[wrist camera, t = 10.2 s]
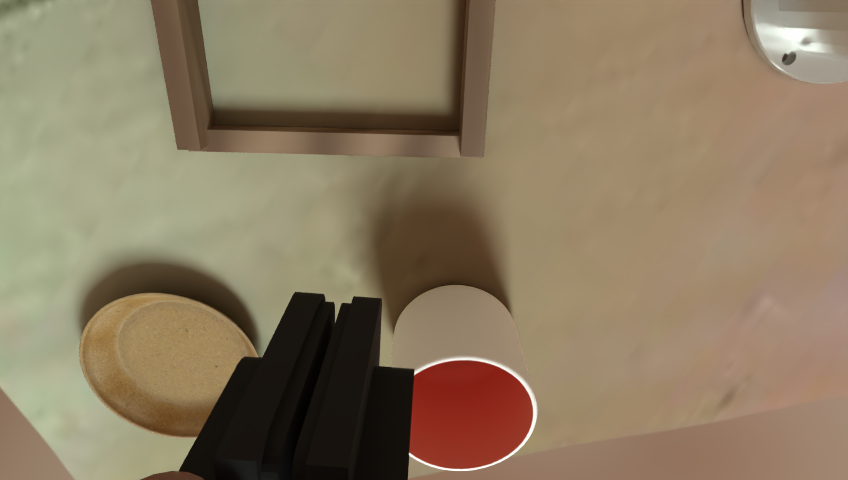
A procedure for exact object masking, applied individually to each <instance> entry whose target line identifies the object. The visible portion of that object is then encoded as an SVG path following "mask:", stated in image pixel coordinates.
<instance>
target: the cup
mask: <svg viewBox="0 0 848 480" xmlns="http://www.w3.org/2000/svg"><path fill="white" fill-rule="evenodd" d="M391 367H396V368H409V369H414V386H413V402H412V418H411V434H410V449H409V456H411V457H412V458H414V459H416V460H417V461H419V462H421V463H423V464H426V465H429V466H431V467H435V468H439V469H444V470H453V471H466V470H467V471H468V470H476V469H481V468H485V467H488V466H491V465H494V464H496V463H499V462H501V461H503V460H505V459H507V458H508V457H510V456H511V455H513V454H514V453H515V452H517V451H518V450H519V449H520V448H521V447H522V446H523V445H524V444H525V442H526V441H527V440H528V438H529V437H530V435H531V433H532V431H533V429H534V427H535V423H536V419H537V402H536V398H535V394H534V391H533V387H532V384H531V380H530V377H529V373H528V370H527V366H526V362H525V359H524V355H523V352H522V348H521V345H520V341H519V338H518V334H517V330H516V327H515V324H514V321H513V319H512V317H511V315H510V313H509V311H508V310H507V309H506V307H505V306H504V305H503V304H502V303H501V302H500V301H499V300H498V299H496V298H495V297H494V296H492V295H491V294H489V293H487V292H485V291H483V290H481V289H478V288H474V287H470V286H465V285H448V286H442V287H437V288H434V289H431V290H429V291H427V292H425V293H423V294H421V295H419V296H418V297H416V298H415V299H414V300H412V301H411V302H410V303H409V304H408V305H407V306H406V308H405V309H404V310H403V311H402V313H401V315H400V316H399V318H398V321H397V323H396V326H395V330H394V336H393V347H392V358H391Z"/></svg>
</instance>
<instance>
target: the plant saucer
mask: <svg viewBox="0 0 848 480" xmlns="http://www.w3.org/2000/svg"><path fill="white" fill-rule="evenodd" d="M245 356H248V357H259V356H258V354H257V352H256V350H255V348H254V346H253V344H252V343H251V341H250V340H249V338H248V337H247V335H246V334H245V333H244V332H243V331H242V329H241V328H240V327H239V326H238V325H237V324H236V323H235V322H234V321H232V320H231V319H230V318H229V317H227V316H226V315H225V314H223V313H222V312H220V311H219V310H217V309H215V308H213V307H211V306H209V305H207V304H205V303H203V302H200V301H198V300H195V299H192V298H188V297H184V296H180V295H174V294H166V293H140V294H134V295H130V296H126V297H122V298H120V299H117V300H115V301H113V302H111V303H109V304H107V305H105V306H104V307H103V308H101V309H100V310H99V311H98V312H96V314H95V315H94V316H93V317H92V318H91V319H90V320H89V322H88V323H87V325H86V326H85V328H84V330H83V333H82V336H81V340H80V347H79V357H80V364H81V367H82V371H83V374H84V376H85V379H86V381H87V383H88V384H89V386H90V388H91V389H92V391H93V392H94V393H95V395H96V396H97V397H98V398H99V399H100V401H101V402H102V403H103V404H104V405H105V406H106V407H107V408H109V409H110V410H111V411H112V412H113V413H115V414H116V415H117V416H119V417H120V418H122V419H123V420H125V421H127V422H129V423H131V424H132V425H134V426H136V427H139V428H140V429H143V430H145V431H148V432H151V433H154V434H158V435H162V436H167V437H172V438H180V439H193V438H197V437H198V435H199V433H200V431H201V430H202V428H203V426H204V424H205V422H206V420H207V419H208V417H209V415H210V413H211V411H212V410H213V408H214V406H215V404H216V402H217V401H218V399H219V397H220V395H221V393H222V391H223V390H224V388H225V386H226V384H227V382H228V381H229V379H230V377H231V375H232V373H233V371H234V370H235V368H236V366H237V364H238V363H239V361H240V360H241V359H242V358H243V357H245Z"/></svg>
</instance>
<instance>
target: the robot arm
mask: <svg viewBox="0 0 848 480" xmlns="http://www.w3.org/2000/svg"><path fill="white" fill-rule="evenodd" d="M743 3H744V20H745V24H746V28H747V32H748V36H749V39H750V40H751V42H752V44H753V46H754V48H755V50H756V52H757V53H758V55H759V56H760V57H761V58H762V59H763V60H764V61H765V63H766V64H767V65H768V66H770V67H771V68H773V69H774V70H776V71H777V72H779V73H780V74H782V75H785V76H787V77H790V78H793V79H795V80H800V81H805V82H810V83H824V84H833V83H839V82H845V81H848V0H743ZM783 55H784V56H783ZM782 57H783V58H782ZM381 313H382V299H381V298H368V297H355V296H354V297H353V299H352V303H351V304H350V303H342V304H341V307H340V310H339V313H338V316H337V320H336V323H335V304H334V302H325V296H324V294H315V293H302V292H295V293H294V294H293V296H292V298H291V300H290V302H289V304H288V306H287V308H286V310H285V312H284V314H283V316H282V318H281V320H280V323H279V325H278V327H277V329H276V331H275V333H274V335H273V337H272V339H271V341H270V343H269V345H268V347H267V349H266V351H265V353H264V355H263V357H262V358H261V357H248V356H245V357H243V358H242V359H241V360H240V361H239V363H238V364H237V366H236V368H235V370H234V371H233V373H232V375H231V377H230V379H229V381H228V382H227V384H226V386H225V388H224V390H223V391H222V393H221V395H220V397H219V399H218V401H217V402H216V404H215V406H214V408H213V410H212V411H211V413H210V415H209V417H208V419H207V420H206V422H205V424H204V426H203V428H202V430H201V431H200V433H199V435H198V437H197V439H196V440H195V442H194V444H193V446H192V448H191V449H190V451H189V453H188V455H187V457H186V459H185V460H184V462H183V464H182V466H181V468H180V469H179V471H169V472H164V473H158V474H153V475H151V476H148V477H146V478H143V479H141V480H408V465H409V449H410V434H411V418H412V402H413V386H414V369H409V368H396V367H382V366H379V358H380V335H381Z"/></svg>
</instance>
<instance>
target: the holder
mask: <svg viewBox="0 0 848 480" xmlns="http://www.w3.org/2000/svg"><path fill="white" fill-rule="evenodd" d="M495 1H496V0H466V8H465V27H464V45H463V64H462V82H461V101H460V119H459V131H433V130H394V129H355V128H316V127H278V126H239V125H215V119H214V112H213V105H212V98H211V91H210V84H209V77H208V70H207V63H206V56H205V49H204V42H203V35H202V28H201V21H200V14H199V7H198V0H151V4H152V9H153V15H154V20H155V26H156V32H157V37H158V43H159V49H160V54H161V60H162V65H163V71H164V77H165V82H166V88H167V93H168V99H169V105H170V110H171V116H172V122H173V127H174V133H175V138H176V144H177V149H179V150H188V151H207V152H247V153H287V154H326V155H366V156H406V157H445V158H481V157H484V146H485V133H486V120H487V107H488V93H489V80H490V67H491V54H492V41H493V28H494V14H495Z"/></svg>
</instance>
